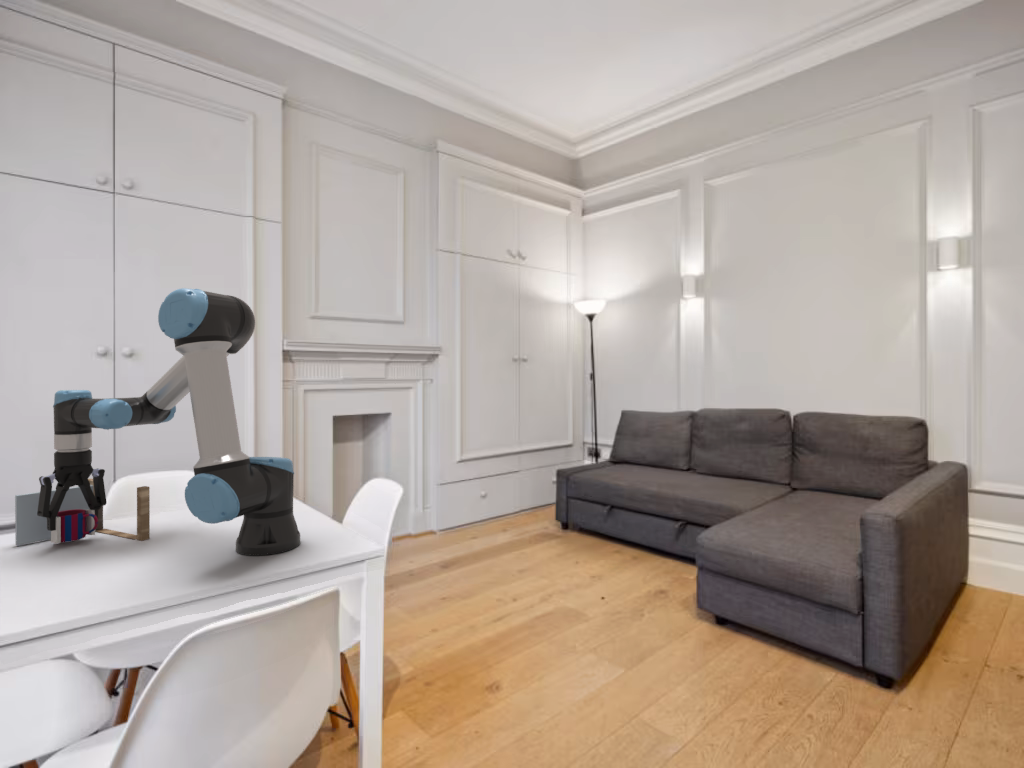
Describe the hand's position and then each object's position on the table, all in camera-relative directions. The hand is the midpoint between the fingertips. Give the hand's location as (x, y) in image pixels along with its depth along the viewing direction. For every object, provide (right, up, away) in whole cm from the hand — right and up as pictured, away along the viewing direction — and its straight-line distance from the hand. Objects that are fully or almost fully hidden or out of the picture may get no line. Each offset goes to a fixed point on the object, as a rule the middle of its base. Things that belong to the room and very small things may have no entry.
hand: (73, 538), depth 137 cm
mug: (0, 0, +1) cm, 1 cm away
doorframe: (+4, -1, +9) cm, 10 cm away
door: (-9, -1, +5) cm, 10 cm away
